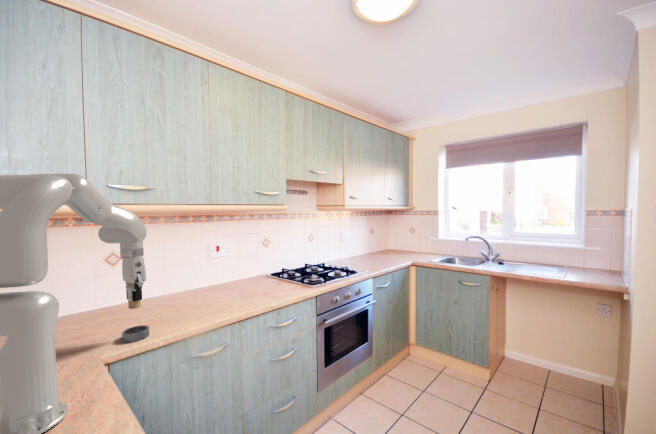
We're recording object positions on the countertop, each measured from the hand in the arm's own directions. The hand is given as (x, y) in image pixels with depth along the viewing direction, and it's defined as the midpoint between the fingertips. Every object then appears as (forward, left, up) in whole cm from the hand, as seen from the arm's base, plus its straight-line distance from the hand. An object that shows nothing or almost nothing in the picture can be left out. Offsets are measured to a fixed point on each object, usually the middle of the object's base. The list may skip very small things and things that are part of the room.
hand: (134, 298), depth 112 cm
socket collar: (0, 0, -15) cm, 15 cm away
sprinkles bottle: (0, 0, -4) cm, 4 cm away
